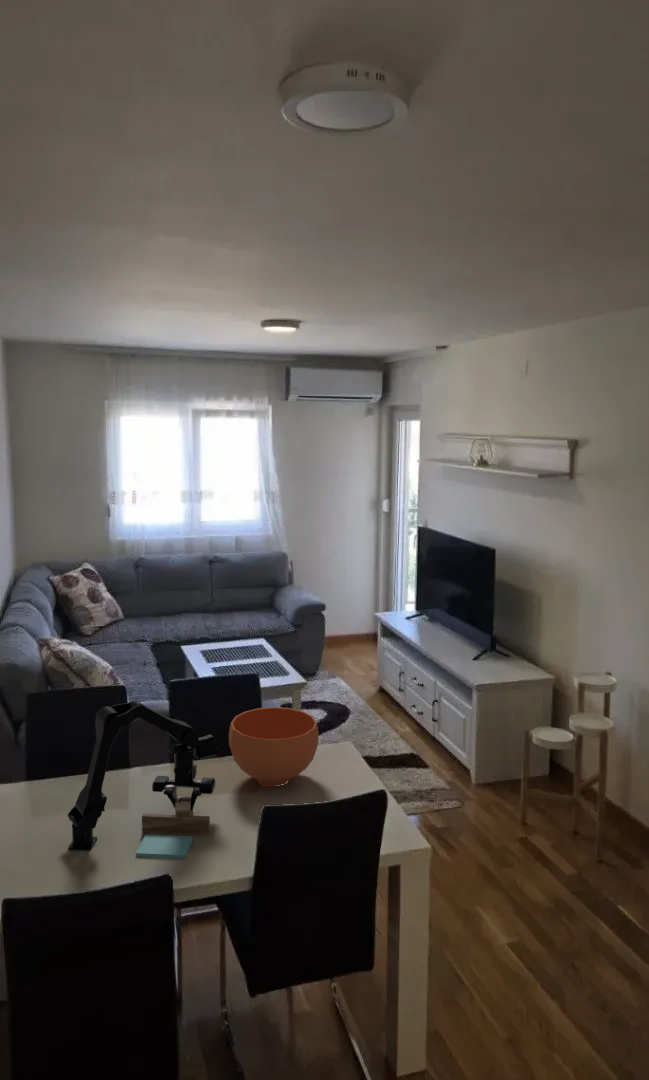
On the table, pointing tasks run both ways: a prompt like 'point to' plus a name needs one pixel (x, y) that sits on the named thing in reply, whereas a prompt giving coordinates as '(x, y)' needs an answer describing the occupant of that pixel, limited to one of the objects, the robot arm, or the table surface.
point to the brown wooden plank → (176, 824)
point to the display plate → (164, 846)
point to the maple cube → (183, 806)
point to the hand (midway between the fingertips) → (184, 810)
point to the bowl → (273, 743)
